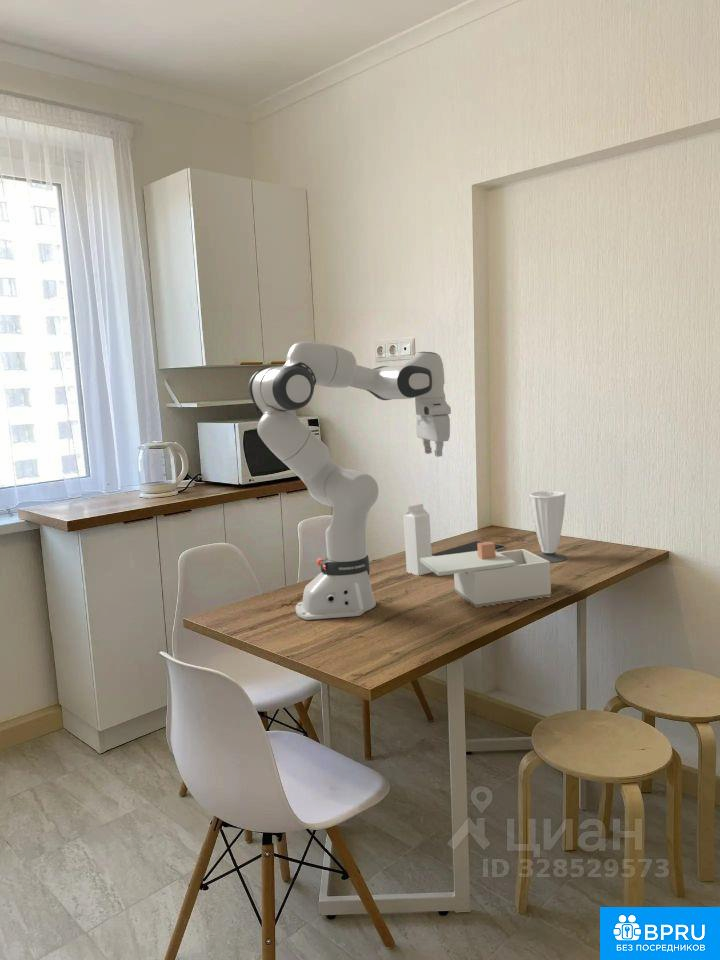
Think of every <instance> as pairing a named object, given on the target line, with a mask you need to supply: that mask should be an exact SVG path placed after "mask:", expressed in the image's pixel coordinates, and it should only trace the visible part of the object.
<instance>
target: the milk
mask: <svg viewBox="0 0 720 960" xmlns="http://www.w3.org/2000/svg"><path fill="white" fill-rule="evenodd" d="M407 508H408V511H407V512H406V513H404V514H403V517H402V519H403V529H404V530H403V531H404V532H403V533H404V534H403V535H404V549H405V565H406V566H405V567H406V573H407V572H408V574H411V573H412V574H411V575H414V576H417V575H418V576H419V575H420V576H423V575H426V574H430V573H434V572H433V571H432V570H430V569H429V568H428V567H426V566H425V565H424V564H422V563H421V562H420V558H425V557H432V554H433V552H432V540H431V539H432V538H431V520H430V519H431V518H430V514H429V513H428V512H427V510H426V509H424V504H423V503H420V504H419V503H418V504H414V505H409V506H408V507H407ZM418 576H417V577H418ZM420 576H419V577H420Z"/></svg>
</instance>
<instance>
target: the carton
mask: <svg viewBox="0 0 720 960" xmlns="http://www.w3.org/2000/svg"><path fill="white" fill-rule="evenodd" d="M497 552H498V553H500V554H502V555H504V556H506V557H508V558H510V559H511V560H513V561H515V562H516V566H509V567H501V568H494V569H486V570H479V571H471V572H464V573H457V574H453V578H454V580H453V581H454V592H455V593H456V594H457V593H458V594H457V595H459V596H460V597H461V596H462V597H461V598H462V599H464V600H465V599H466V600H467V602H468V601H469V602H470V603H471V604H470V603H469V602H468V603H469V604H470V605H472V604H473V605H474V606H475V607H479V608H482V607H481V606H486V607H488V606H487V605H492V604H499V603H505V602H512V601H519V600H526V599H532V598H540V597H546V596H551V597H552V590H551V589H552V586H551V582H552V581H551V579H552V578H551V563H550V561H548V560H546V559H543V558H541V557H539V556H537V554H535V553H533V552H531V551H529V550H527V549H524V548H521V549H513V550H511V549H510V550H505V551H497ZM466 600H465V601H466ZM473 605H472V606H473ZM474 606H473V607H474ZM475 607H474V608H475Z"/></svg>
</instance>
